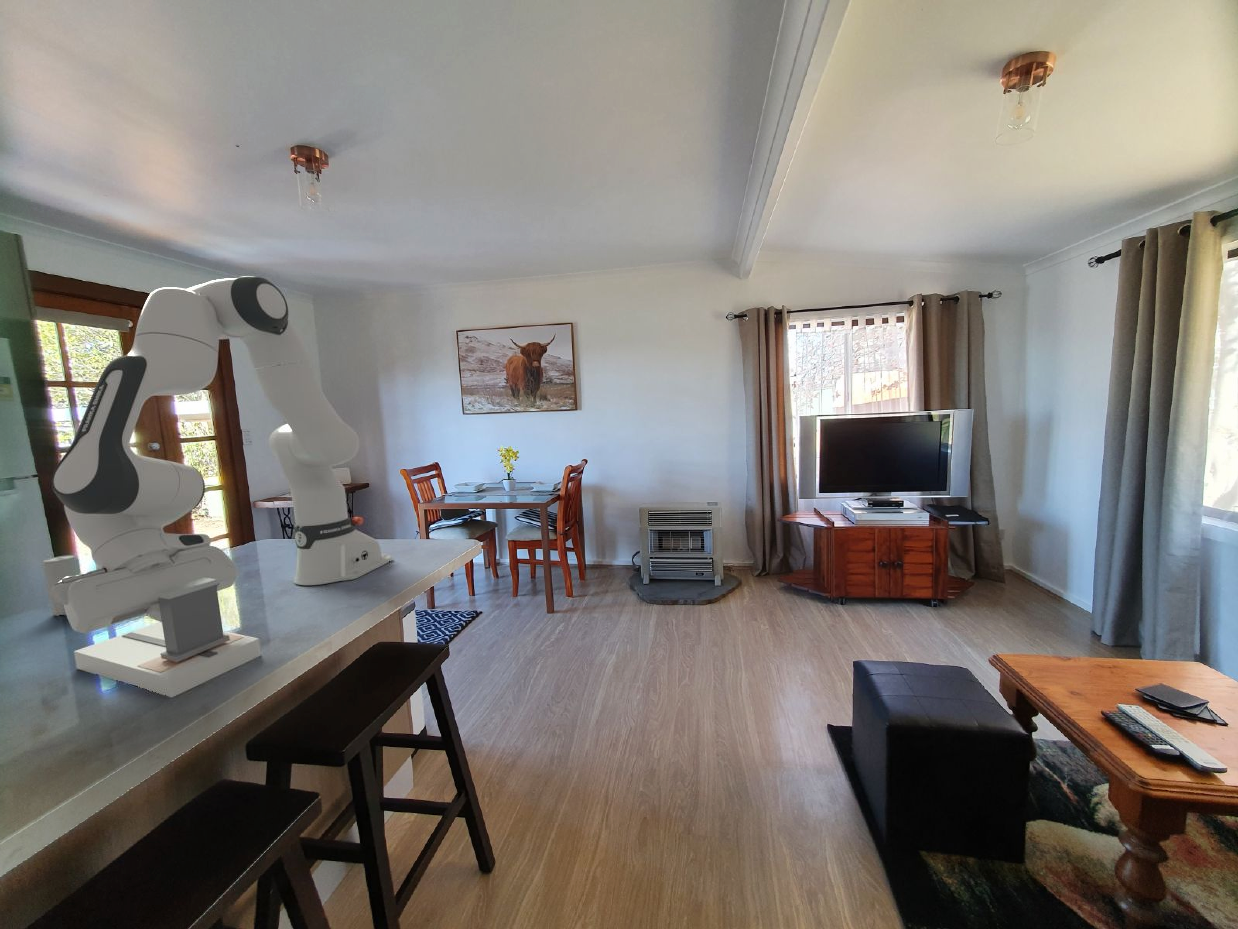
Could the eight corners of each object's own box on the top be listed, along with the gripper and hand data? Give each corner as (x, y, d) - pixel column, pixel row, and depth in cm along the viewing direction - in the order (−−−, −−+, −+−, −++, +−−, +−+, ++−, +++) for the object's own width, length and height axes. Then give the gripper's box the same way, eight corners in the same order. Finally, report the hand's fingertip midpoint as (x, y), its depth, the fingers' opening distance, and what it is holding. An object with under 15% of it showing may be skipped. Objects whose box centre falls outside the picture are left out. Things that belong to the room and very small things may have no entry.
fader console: (77, 668, 75) (73, 650, 75) (169, 634, 86) (166, 618, 86) (171, 697, 66) (168, 676, 66) (261, 655, 77) (258, 637, 77)
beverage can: (62, 617, 96) (52, 562, 95) (46, 616, 97) (35, 561, 96) (93, 607, 101) (83, 554, 99) (76, 606, 102) (67, 554, 100)
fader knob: (161, 658, 70) (150, 592, 69) (214, 636, 77) (205, 576, 76) (176, 662, 69) (166, 595, 68) (229, 640, 75) (221, 578, 74)
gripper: (49, 568, 65) (98, 644, 62) (217, 532, 84) (259, 588, 82) (39, 595, 67) (86, 669, 65) (206, 553, 86) (246, 609, 84)
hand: (184, 624), depth 73 cm, fingers closed, pressing on fader knob
